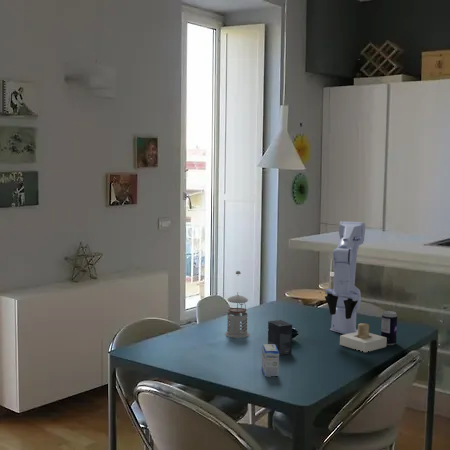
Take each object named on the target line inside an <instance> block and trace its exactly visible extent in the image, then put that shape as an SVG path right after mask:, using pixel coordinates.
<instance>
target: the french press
mask: <svg viewBox="0 0 450 450" xmlns="http://www.w3.org/2000/svg"><path fill="white" fill-rule="evenodd" d="M241 274H242V273H241V271H239V270H236V271H235V275H241ZM226 300H227V301H228V302H229V303H233V304H237V307H231V308H228V312H227V320H226V321H227V325H226V326H227V327H226V330H227V331H226V332H225V333H224V335H225V336H226V337H229V338H237V339H239V338H240V339H242V338H247V337H249V336H250V333H249V332H248V313H247V311H248V309H247V307H246V303H247V302H248V301H249V299H248V298H247V297H245V296H243V295H239V293H237V294H236V295H235V294H234V295H232V296H229V297H228V298H227V299H226ZM239 305H240V307H239ZM243 305H244V307H243Z"/></svg>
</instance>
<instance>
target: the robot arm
mask: <svg viewBox="0 0 450 450" xmlns="http://www.w3.org/2000/svg"><path fill="white" fill-rule="evenodd" d="M365 234H366V224H365V222H364V221H361V222H360V221H344V220H340V222H339V225H338V235H339V240H338V243H337V246H336V248H335V249H333V252H332V261H333V269H334V270H333V272H334V273H333V288H325V291H324V294H325V295H324V299H325V301H326V303H327V305H328V309H329V314H330V316H331V325H330V326H331V327H330V328H329V330H330V331H333V332H335V333H340V334H342V335H345V334H349V333H353V332H358V329H357V328H356V327H357V311H358V310H359V309H360V308H361V304H362V302H361V301H362V300H361V299H362V298H361V295H362V293H361V292H362V291H361V290H360V289H359V288H358V287H357V286H356V285H355V284H356V283H355V281H356V270H357V258H358V250H359V247H360V246H361V245H363V244H364V242H365Z"/></svg>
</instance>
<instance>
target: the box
mask: <svg viewBox="0 0 450 450" xmlns="http://www.w3.org/2000/svg"><path fill="white" fill-rule="evenodd" d="M267 323H268V324H267V326H268V327H267V344H275V345H276V347H277V349H278V351H279V356H280V355H288V354H289V353H290V354H292V351H293V350H292V347H293V346H292V345H293V344H292V343H293V342H292V341H293V324H292V323H289V322H287V321H284V320H282V319H277V320H268V322H267Z"/></svg>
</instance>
